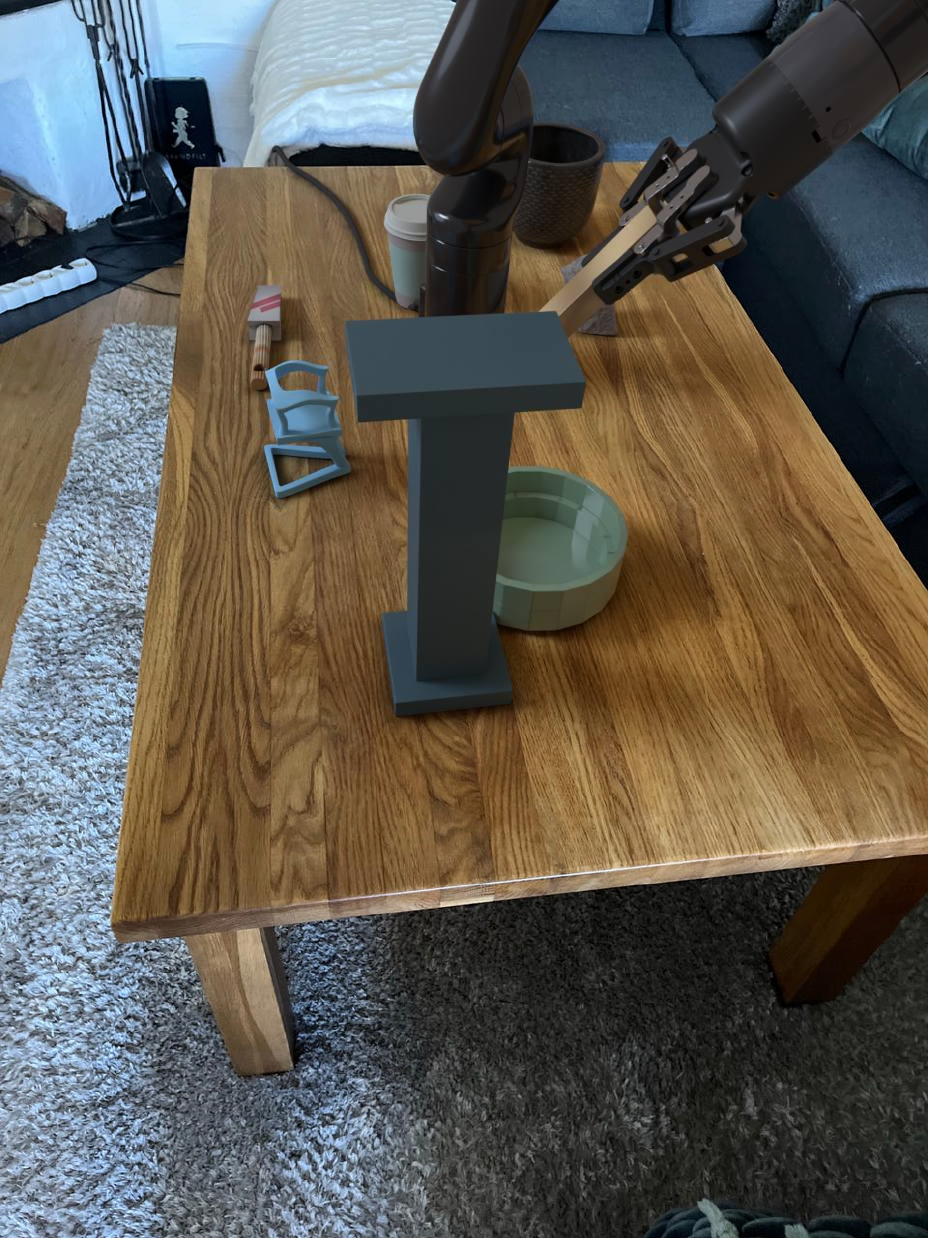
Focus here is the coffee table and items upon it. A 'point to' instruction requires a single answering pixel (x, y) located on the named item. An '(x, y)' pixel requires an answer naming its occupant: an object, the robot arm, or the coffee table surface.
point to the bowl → (556, 550)
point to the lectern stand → (456, 481)
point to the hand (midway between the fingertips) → (594, 284)
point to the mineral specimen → (603, 317)
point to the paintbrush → (264, 330)
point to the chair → (304, 426)
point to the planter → (559, 184)
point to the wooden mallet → (597, 274)
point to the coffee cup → (407, 245)
